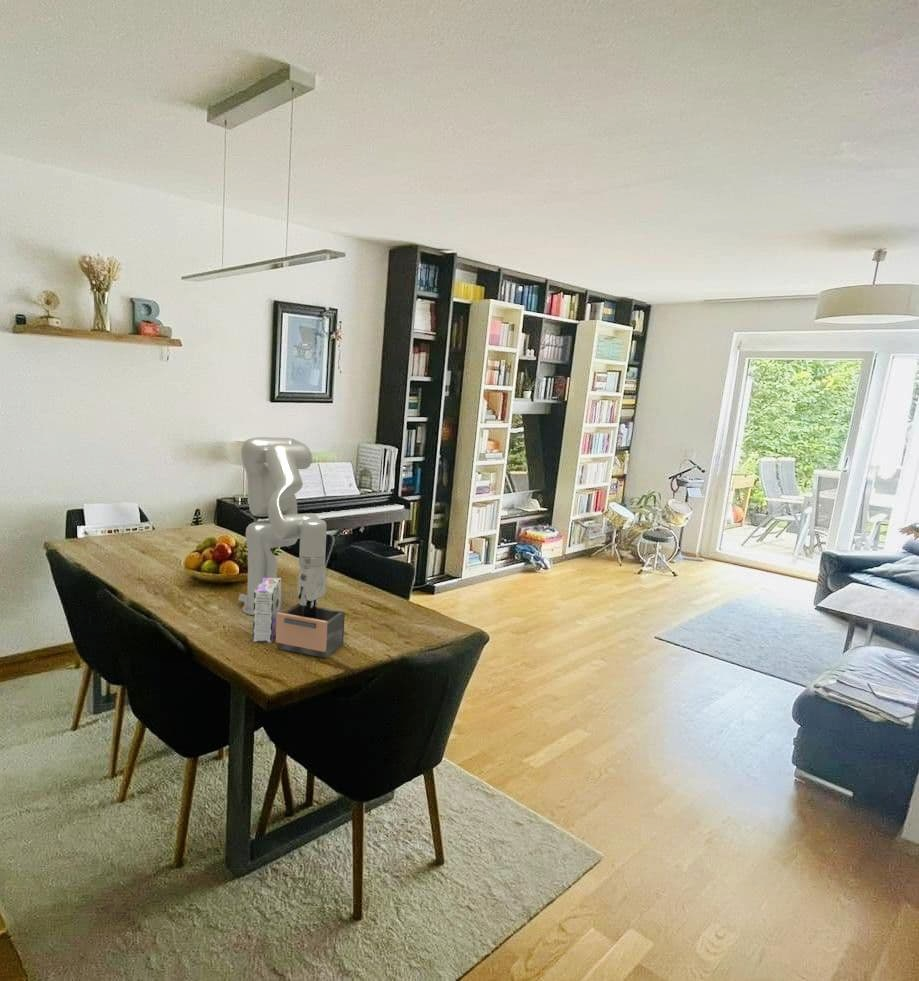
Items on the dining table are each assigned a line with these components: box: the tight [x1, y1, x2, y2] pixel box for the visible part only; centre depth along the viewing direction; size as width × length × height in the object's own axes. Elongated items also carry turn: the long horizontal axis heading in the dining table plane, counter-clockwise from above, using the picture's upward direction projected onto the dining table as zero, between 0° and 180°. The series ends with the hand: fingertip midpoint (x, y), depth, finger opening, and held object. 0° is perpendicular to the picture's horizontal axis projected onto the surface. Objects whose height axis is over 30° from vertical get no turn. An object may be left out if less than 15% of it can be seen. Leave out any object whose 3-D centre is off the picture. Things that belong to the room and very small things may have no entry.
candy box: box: [252, 577, 282, 644], centre depth 193 cm, size 14×6×16 cm, turn 5°
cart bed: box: [277, 603, 346, 659], centre depth 187 cm, size 16×11×10 cm
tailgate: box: [275, 611, 328, 652], centre depth 180 cm, size 16×2×9 cm, turn 75°
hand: (310, 619), depth 185 cm, fingers closed
